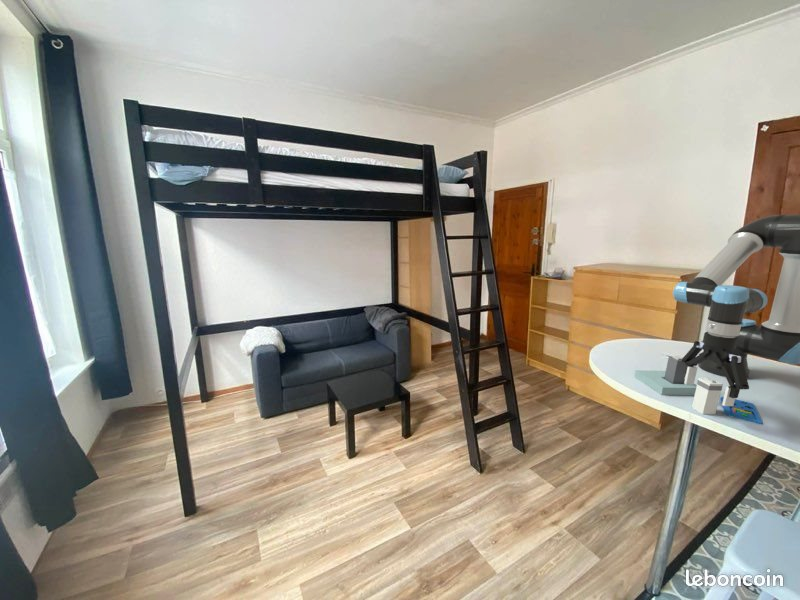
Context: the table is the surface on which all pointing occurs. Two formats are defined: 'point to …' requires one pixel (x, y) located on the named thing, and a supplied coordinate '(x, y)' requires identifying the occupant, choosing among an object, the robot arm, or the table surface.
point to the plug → (675, 370)
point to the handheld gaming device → (742, 411)
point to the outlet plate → (664, 383)
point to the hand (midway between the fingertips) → (706, 394)
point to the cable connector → (707, 395)
